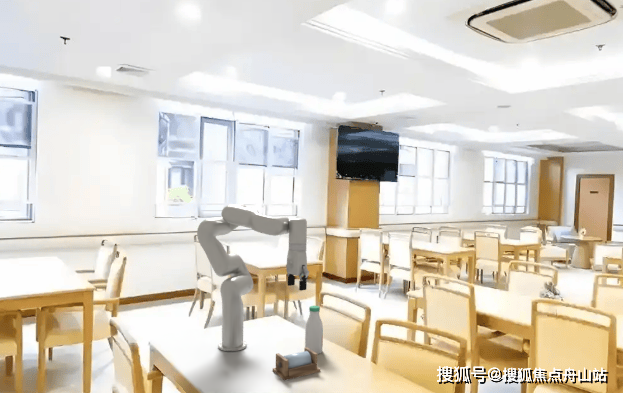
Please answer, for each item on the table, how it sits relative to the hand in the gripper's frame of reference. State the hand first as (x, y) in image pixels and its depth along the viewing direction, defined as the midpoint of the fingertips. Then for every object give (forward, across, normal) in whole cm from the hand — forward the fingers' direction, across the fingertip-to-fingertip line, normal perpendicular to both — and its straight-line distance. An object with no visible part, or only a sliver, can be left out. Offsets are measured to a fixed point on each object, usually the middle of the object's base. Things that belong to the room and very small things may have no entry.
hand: (296, 287), depth 184 cm
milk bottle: (+31, -3, +11) cm, 33 cm away
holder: (+30, +11, -6) cm, 33 cm away
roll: (+29, +11, -6) cm, 32 cm away
